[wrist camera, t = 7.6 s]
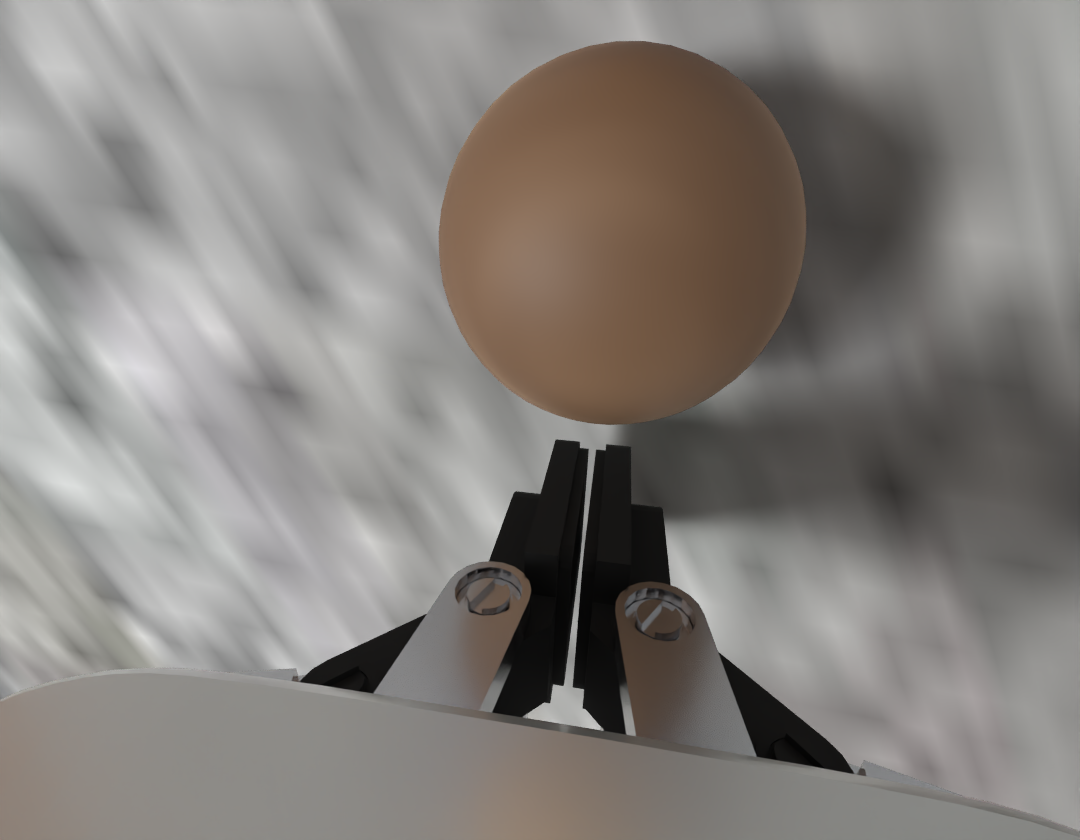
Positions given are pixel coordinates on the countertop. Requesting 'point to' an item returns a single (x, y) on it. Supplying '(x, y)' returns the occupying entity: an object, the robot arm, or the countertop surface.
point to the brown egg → (622, 232)
